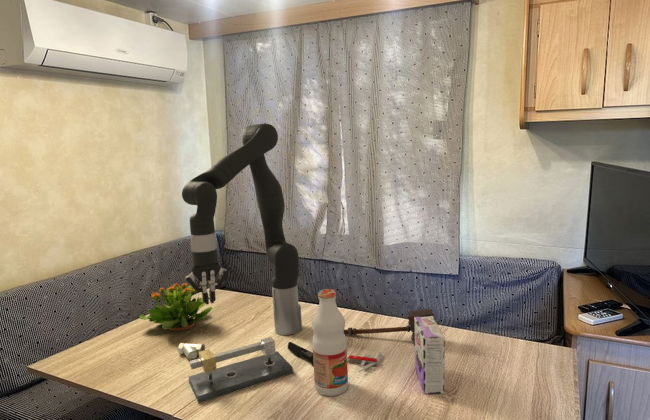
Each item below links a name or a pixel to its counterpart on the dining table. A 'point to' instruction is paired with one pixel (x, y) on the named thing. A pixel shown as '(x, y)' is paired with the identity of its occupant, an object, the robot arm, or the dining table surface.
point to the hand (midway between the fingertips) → (209, 302)
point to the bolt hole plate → (239, 376)
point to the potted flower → (177, 308)
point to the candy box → (429, 354)
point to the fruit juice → (329, 346)
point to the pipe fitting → (190, 350)
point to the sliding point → (208, 362)
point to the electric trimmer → (301, 352)
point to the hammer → (396, 329)
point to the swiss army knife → (364, 360)
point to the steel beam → (242, 352)
